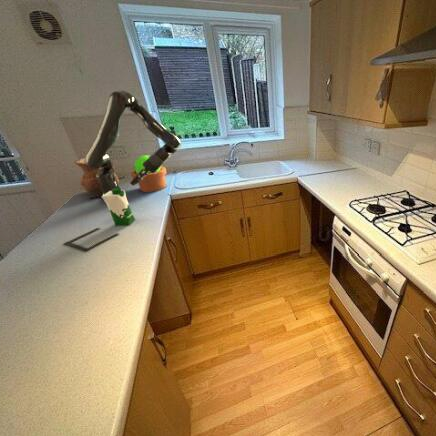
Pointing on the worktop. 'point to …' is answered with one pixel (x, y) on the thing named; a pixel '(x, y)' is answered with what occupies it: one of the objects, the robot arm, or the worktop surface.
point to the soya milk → (118, 207)
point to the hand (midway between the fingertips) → (133, 183)
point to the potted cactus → (150, 177)
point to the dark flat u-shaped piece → (89, 247)
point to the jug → (91, 178)
